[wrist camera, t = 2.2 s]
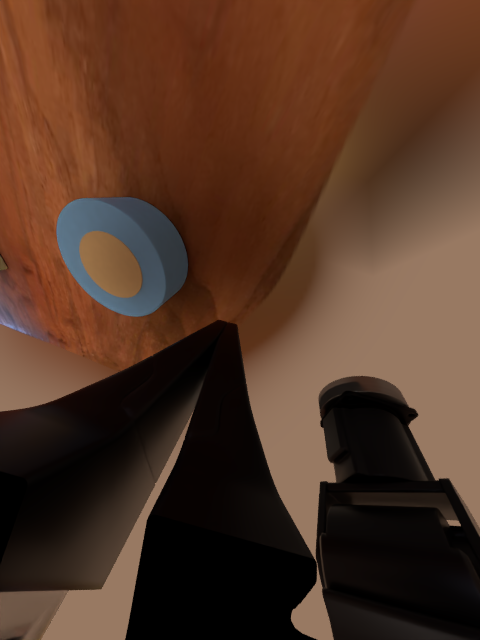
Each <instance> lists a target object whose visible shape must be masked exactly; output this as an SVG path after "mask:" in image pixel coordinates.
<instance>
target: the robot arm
mask: <svg viewBox="0 0 480 640" xmlns="http://www.w3.org/2000/svg"><path fill="white" fill-rule="evenodd" d="M194 408H195V409H194ZM193 410H194V412H193ZM192 412H193V415H192V418H191V421H190V424H189V427H188V430H187V433H186V436H185V440H184V442H183V445H182V448H181V451H180V453H179V456H178V458H177V461H176V463H175V465H174V467H173V469H172V471H171V473H170V475H169V477H168V479H167V481H166V483H165V485H164V487H163V489H162V491H161V493H160V495H159V497H158V499H157V501H156V503H155V505H154V507H153V509H152V511H151V513H150V515H149V517H148V519H147V524H146V529H145V534H144V540H143V546H142V551H141V557H140V562H139V568H138V574H137V579H136V585H135V590H134V596H133V602H132V608H131V613H130V619H129V624H128V629H127V634H126V639H125V640H316V639H314V638H312V637H309V636H307V635H305V634H302V633H301V632H299V631H298V630H297V629H296V628H295V627H294V625H293V623H292V622H291V613H292V610H293V609H295V608H296V607H297V606H298V604H300V603H301V602H302V600H303V599H304V598H305V597H306V595H307V594H308V593H309V591H311V589H312V588H313V586H314V585H315V584H316V580H317V564H316V561H315V559H314V557H313V556H312V554H311V552H310V550H309V548H308V547H307V545H306V543H305V541H304V539H303V538H302V536H301V534H300V532H299V531H298V529H297V527H296V525H295V523H294V522H293V520H292V518H291V516H290V514H289V513H288V511H287V509H286V507H285V506H284V504H283V502H282V500H281V498H280V496H279V494H278V492H277V489H276V487H275V485H274V482H273V479H272V476H271V474H270V470H269V467H268V465H267V461H266V458H265V455H264V451H263V448H262V444H261V441H260V438H259V435H258V432H257V428H256V425H255V421H254V418H253V414H252V410H251V406H250V401H249V396H248V391H247V384H246V379H245V373H244V366H243V359H242V353H241V347H240V340H239V335H238V327H237V325H236V324H233V323H227V322H226V321H222V320H217V321H215V322H213V323H211V324H210V325H208V326H206V327H204V328H202V329H200V330H198V331H197V332H195V333H193V334H191V335H189V336H187V337H186V338H184V339H182V340H180V341H178V342H176V343H174V344H173V345H171V346H169V347H167V348H165V349H163V350H161V351H160V352H158V353H156V354H154V355H153V356H150V357H148V358H146V359H145V360H143V361H141V362H139V363H137V364H135V365H133V366H131V367H129V368H127V369H125V370H123V371H120V372H118V373H116V374H114V375H112V376H110V377H108V378H105V379H103V380H101V381H98V382H96V383H94V384H91V385H89V386H87V387H85V388H82V389H80V390H78V391H75V392H74V393H71V394H69V395H66V396H64V397H62V398H59V399H57V400H54V401H51V402H48V403H46V404H42V405H39V406H35V407H30V408H25V409H18V410H11V411H2V412H0V640H41V639H42V637H43V635H44V633H45V632H46V630H47V628H48V626H49V625H50V623H51V621H52V619H53V617H54V616H55V614H56V612H57V610H58V609H59V607H60V605H61V603H62V601H63V599H64V598H65V596H66V594H67V593H68V591H69V590H95V589H102V587H103V585H104V583H105V581H106V579H107V577H108V575H109V574H110V572H111V570H112V568H113V566H114V564H115V562H116V560H117V558H118V556H119V554H120V552H121V550H122V548H123V546H124V544H125V542H126V540H127V538H128V537H129V535H130V533H131V531H132V529H133V527H134V525H135V523H136V521H137V519H138V517H139V515H140V513H141V511H142V509H143V507H144V505H145V503H146V502H147V500H148V498H149V496H150V494H151V492H152V490H153V488H154V486H155V483H156V482H157V480H158V478H159V476H160V474H161V472H162V470H163V469H164V467H165V465H166V463H167V461H168V459H169V457H170V455H171V453H172V451H173V449H174V447H175V445H176V443H177V441H178V439H179V437H180V435H181V434H182V431H183V430H184V428H185V426H186V424H187V422H188V420H189V418H190V416H191V414H192ZM416 417H418V413H417V411H416V410H415V409H413V408H410V407H407V406H403V405H400V404H396V403H392V402H389V401H385V400H382V399H378V398H375V397H371V396H368V395H364V394H361V393H357V392H353V391H344V392H343V393H342V395H341V396H340V397H339V398H338V400H337V401H336V402H335V403H334V405H333V406H332V407H331V408H330V409H329V410H328V412H327V413H326V414H325V415H324V417H323V418H322V420H321V421H320V426H321V427H322V428H324V433H325V441H326V448H327V456H328V460H329V461H330V462H331V463H334V469H335V475H336V482H337V483H328V482H327V481H323V482H320V494H319V507H318V524H317V540H316V560H317V563H318V569H319V575H320V579H321V583H322V587H323V589H322V593H323V598H324V602H325V605H326V608H327V612H328V616H329V619H330V623H331V628H332V633H333V637H334V640H480V528H479V527H478V525H477V523H476V521H475V519H474V518H473V516H472V514H471V513H470V511H469V509H468V507H467V506H466V504H465V503H464V501H463V500H462V498H461V497H460V495H459V493H458V492H457V490H456V489H455V487H454V486H453V485H452V483H451V481H450V480H449V479H448V478H447V479H439V481H438V480H437V481H435V479H434V477H433V475H432V473H431V471H430V469H429V467H428V465H427V463H426V461H425V459H424V457H423V455H422V453H421V451H420V449H419V447H418V445H417V443H416V441H415V439H414V437H413V435H412V433H411V431H410V429H409V427H408V425H407V424H408V423H410V422H411V421H413V420H414V419H415V418H416ZM446 520H459V522H460V524H461V526H449V524H448V522H447V521H446Z"/></svg>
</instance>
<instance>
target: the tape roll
mask: <svg viewBox="0 0 480 640" xmlns="http://www.w3.org/2000/svg"><path fill="white" fill-rule="evenodd" d="M57 241H58V245H59V249H60V252H61V255H62V257H63V259H64V262H65V263H66V265H67V267H68V269H69V271H70V272H71V274H72V275H73V277H74V278H75V279H76V281H77V282H78V283H79V284H80V285H81V287H82V288H83V289H84V290H85V291H86V292H87V293H88V294H89V295H90V296H92V297H93V298H94V299H95V300H96V301H98V302H99V303H100V304H102V305H104V306H105V307H107V308H109V309H111V310H113V311H115V312H117V313H120V314H123V315H127V316H145V315H148V314H151V313H152V312H154V311H156V310H157V309H158V308H159V307H160V306H161V305H163V304H164V303H165V302H166V301H167V300H168V299H170V298H171V297H172V296H173V295H174V294H175V293H177V292H178V291H179V290H180V289H181V287H182V286H183V284H184V282H185V280H186V277H187V272H188V258H187V253H186V249H185V246H184V243H183V241H182V238H181V236H180V235H179V233H178V231H177V230H176V228H175V227H174V225H173V224H172V223H171V221H170V220H169V219H168V218H167V217H166V216H165V215H164V214H163V213H162V212H161V211H159V210H158V209H157V208H156V207H154V206H152V205H151V204H149V203H147V202H145V201H143V200H140V199H136V198H131V197H113V198H81V199H77V200H74V201H72V202H70V203H69V204H67V205H66V206H65V207H64V208H63V210H62V211H61V213H60V215H59V218H58V221H57Z"/></svg>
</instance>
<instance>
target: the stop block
mask: <svg viewBox="0 0 480 640" xmlns="http://www.w3.org/2000/svg"><path fill="white" fill-rule="evenodd" d="M4 269H8V268H7V266H6V264H5V263H4V261H3V259H2V257H1V256H0V270H4Z"/></svg>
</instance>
